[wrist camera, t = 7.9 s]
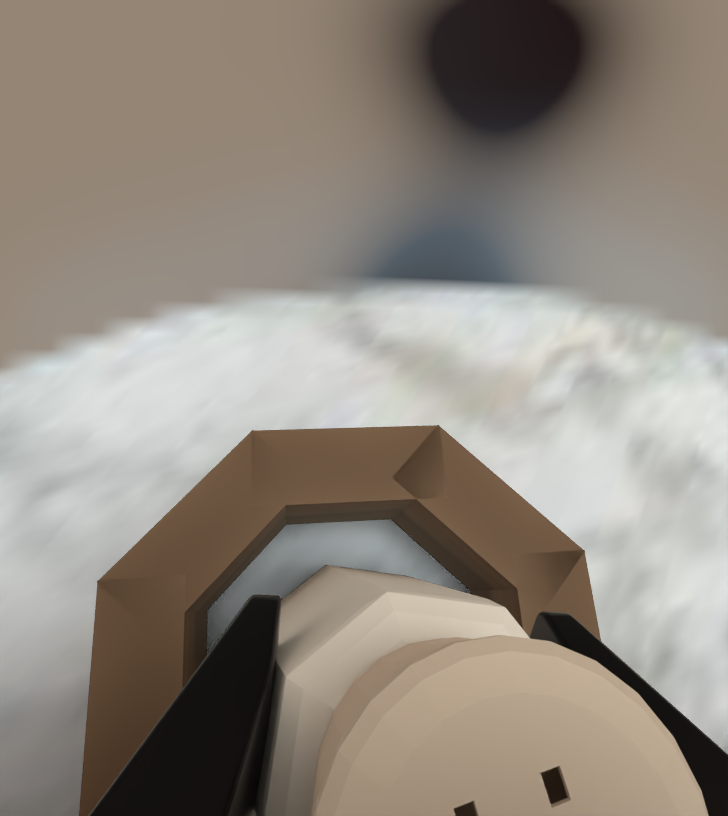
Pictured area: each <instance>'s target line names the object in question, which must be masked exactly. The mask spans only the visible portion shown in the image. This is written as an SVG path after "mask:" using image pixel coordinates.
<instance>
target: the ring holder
mask: <svg viewBox="0 0 728 816" xmlns="http://www.w3.org/2000/svg"><path fill="white" fill-rule="evenodd" d="M382 519H392V520H393V521H394V522H395V523H396V524H397V525H398V526H399V527H400V528H402V529H403V530H404V531H405V532H406V533H407V534H408V535H409V536H410V537H412V538H413V539H414V540H415V541H416V542H417V543H418V544H419V545H420V546H422V547H423V548H424V549H425V550H426V551H427V552H428V553H429V554H431V555H432V556H433V557H434V558H435V559H436V560H437V561H438V562H439V563H441V564H442V565H443V566H444V567H445V568H446V569H447V570H448V571H449V572H451V573H452V574H453V575H454V576H455V577H456V578H457V579H458V580H459V581H461V582H462V583H463V584H464V585H465V586H466V587H467V588H468V589H469V590H471V594H472V595H475V596H479V597H483V598H486V599H489V600H491V601H493V602H495V603H497V604H499V605H501V606H503V607H505V608H506V609H507V610H508V611H509V613H510V614H511V615H512V616H513V617H514V619H515V620H516V621H517V622H518V624H519V625H520V626H521V628H522V629H523V630H524V631H525V633H526V634H527V635H528V636H529V637H530V634H531V631H532V628H533V625H534V622H535V619H536V617H537V615H538V614H539V613H540V612H542V611H553V612H565V613H568V614H570V615H571V616H573V617H574V618H575V619H576V620H577V621H578V622H580V623H581V624H582V625H583V626H584V627H585V628H586V629H587V630H589V631H590V632H591V633H592V634H593V635H594V636H595V637H596V638H598V639H599V640H600V641H601V639H600V633H599V628H598V622H597V617H596V612H595V606H594V601H593V595H592V590H591V585H590V579H589V574H588V568H587V563H586V558H585V551H584V550H583V549H582V548H580V547H579V546H578V545H577V544H576V543H575V542H573V541H572V540H571V539H570V538H569V537H568V536H566V535H565V534H564V533H563V532H562V531H561V530H559V529H558V528H557V527H556V526H555V525H554V524H552V523H551V522H550V521H549V520H548V519H547V518H546V517H544V516H543V515H542V514H541V513H540V512H539V511H537V510H536V509H535V508H534V507H533V506H532V505H530V504H529V503H528V502H527V501H526V500H525V499H523V498H522V497H521V496H520V495H519V494H518V493H516V492H515V491H514V490H513V489H512V488H511V487H509V486H508V485H507V484H506V483H505V482H504V481H502V480H501V479H500V478H499V477H498V476H497V475H496V474H494V473H493V472H492V471H491V470H490V469H489V468H487V467H486V466H485V465H484V464H483V463H482V462H480V461H479V460H478V459H477V458H476V457H475V456H473V455H472V454H471V453H470V452H469V451H468V450H466V449H465V448H464V447H463V446H462V445H461V444H459V443H458V442H457V441H456V440H455V439H454V438H453V437H451V436H450V435H449V434H448V433H447V432H446V431H444V430H443V429H442V428H441V427H440V426H439V425H437V426H402V427H367V428H331V429H296V430H261V431H253V430H252V431H251V432H250V433H249V434H248V435H247V436H246V437H245V438H244V439H243V440H242V441H241V442H240V443H239V444H238V445H237V446H236V447H235V448H234V449H233V450H232V451H231V452H230V453H229V454H228V455H227V456H226V457H225V458H224V459H223V460H222V461H221V462H220V463H219V464H218V465H217V466H216V467H215V468H213V469H212V470H211V471H210V472H209V473H208V474H207V475H206V476H205V477H204V478H203V479H202V480H201V481H200V482H199V483H198V484H197V485H196V486H195V487H194V488H193V489H192V490H191V491H190V492H189V493H188V494H187V495H186V496H185V497H184V498H183V499H182V500H181V501H180V502H179V503H178V504H177V505H176V506H175V507H174V508H172V509H171V510H170V511H169V512H168V513H167V514H166V515H165V516H164V517H163V518H162V519H161V520H160V521H159V522H158V523H157V524H156V525H155V526H154V527H153V528H152V529H151V530H150V531H149V532H148V533H147V534H146V535H145V536H144V537H143V538H142V539H141V540H140V541H139V542H138V543H137V544H136V545H135V546H134V547H132V548H131V549H130V550H129V551H128V552H127V553H126V554H125V555H124V556H123V557H122V558H121V559H120V560H119V561H118V562H117V563H116V564H115V565H114V566H113V567H112V568H111V569H110V570H109V571H108V572H107V573H106V574H105V575H104V576H103V577H102V578H101V579H100V580H98V582H97V583H98V584H97V597H96V609H95V622H94V634H93V647H92V660H91V672H90V685H89V698H88V710H87V723H86V736H85V748H84V761H83V773H82V786H81V799H80V811H79V816H89V814H90V813H91V811H92V810H93V809H94V807H95V806H96V805H97V803H98V802H99V801H100V799H101V798H102V797H103V795H104V794H105V793H106V791H107V790H108V788H109V787H110V786H111V784H112V783H113V782H114V780H115V779H116V778H117V776H118V775H119V774H120V772H121V771H122V770H123V768H124V767H125V765H126V764H127V763H128V761H129V760H130V759H131V757H132V756H133V755H134V753H135V752H136V751H137V749H138V748H139V747H140V745H141V744H142V742H143V741H144V740H145V738H146V737H147V736H148V734H149V733H150V732H151V730H152V729H153V728H154V726H155V725H156V724H157V722H158V721H159V719H160V718H161V717H162V715H163V714H164V713H165V711H166V710H167V709H168V707H169V706H170V705H171V703H172V702H173V701H174V699H175V698H176V696H177V695H178V694H179V692H180V691H181V690H182V688H183V687H184V686H185V684H186V683H187V682H188V680H189V679H190V678H191V676H192V675H193V673H194V672H195V671H196V669H197V668H198V667H199V665H200V664H201V663H202V661H203V660H204V659H205V657H206V648H207V610H208V608H209V607H210V606H211V605H212V604H213V603H214V602H215V601H216V600H217V599H218V598H219V597H220V596H221V594H222V593H223V592H224V591H225V590H226V589H227V588H228V587H229V586H230V585H231V584H232V583H233V581H234V580H235V579H236V578H237V577H238V576H239V575H240V574H241V573H242V572H243V571H244V570H245V569H246V567H247V566H248V565H249V564H250V563H251V562H252V561H253V560H254V559H255V558H256V557H257V556H258V555H259V553H260V552H261V551H262V550H263V549H264V548H265V547H266V546H267V545H268V544H269V543H270V542H271V540H272V539H273V538H274V537H275V536H276V535H277V534H278V533H279V532H280V531H281V530H282V529H283V528H284V526H285V525H286V524H304V523H324V522H343V521H362V520H382Z"/></svg>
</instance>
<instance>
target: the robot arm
mask: <svg viewBox="0 0 728 816" xmlns="http://www.w3.org/2000/svg"><path fill="white" fill-rule="evenodd" d="M280 615H281V598H280V597H279V596H271V595H253V596H251V597H250V598H249V599H248V600H247V602H246V603H245V605H244V606H243V607H242V609H241V610H240V611H239V613H238V614H237V615H236V617H235V618H234V619H233V621H232V622H231V623H230V625H229V626H228V628H227V629H226V630H225V632H224V633H223V634H222V636H221V637H220V638H219V640H218V641H217V642H216V644H215V645H214V646H213V648H212V649H211V650H210V652H209V653H208V655H207V656H206V657H205V659H204V660H203V661H202V663H201V664H200V665H199V667H198V668H197V669H196V671H195V672H194V673H193V675H192V676H191V678H190V679H189V680H188V682H187V683H186V684H185V686H184V687H183V688H182V690H181V691H180V692H179V694H178V695H177V696H176V698H175V699H174V701H173V702H172V703H171V705H170V706H169V707H168V709H167V710H166V711H165V713H164V714H163V715H162V717H161V718H160V719H159V721H158V722H157V724H156V725H155V726H154V728H153V729H152V730H151V732H150V733H149V734H148V736H147V737H146V738H145V740H144V741H143V742H142V744H141V745H140V747H139V748H138V749H137V751H136V752H135V753H134V755H133V756H132V757H131V759H130V760H129V761H128V763H127V764H126V765H125V767H124V768H123V770H122V771H121V772H120V774H119V775H118V776H117V778H116V779H115V780H114V782H113V783H112V784H111V786H110V787H109V788H108V790H107V791H106V793H105V794H104V795H103V797H102V798H101V799H100V801H99V802H98V803H97V805H96V806H95V807H94V809H93V810H92V811H91V813H90V814H89V816H256V813H255V802H256V797H257V791H258V786H259V780H260V774H261V769H262V763H263V757H264V751H265V744H266V738H267V732H268V725H269V717H270V709H271V700H272V691H273V681H274V672H275V662H276V655H277V649H278V640H279V627H280ZM529 638H530V639H537V640H545V641H551V642H553V643H556V644H558V645H560V646H563V647H565V648H567V649H570V650H572V651H574V652H577V653H579V654H581V655H584V656H586V657H588V658H591V659H593V660H595V661H597V662H598V663H600V664H601V665H602V666H603V667H605V668H606V669H607V670H609V671H610V672H611V673H613V674H614V675H615V676H616V677H618V678H619V679H620V680H622V681H623V682H624V683H625V684H627V685H628V686H629V687H631V688H632V689H633V690H635V691H636V692H637V693H638V694H639V695H640V696H641V697H642V699H643V700H644V701H645V702H646V704H647V705H648V706H649V707H650V709H651V710H652V711H653V712H654V713H655V715H656V716H657V717H658V718H659V720H660V721H661V722H662V723H663V724H664V726H665V727H666V728H667V729H668V731H669V732H670V733H671V734H672V735H673V737H674V738H675V740H676V742H677V744H678V746H679V748H680V750H681V752H682V754H683V756H684V758H685V760H686V762H687V764H688V766H689V768H690V770H691V771H692V773H693V775H694V777H695V779H696V781H697V783H698V785H699V787H700V789H701V791H702V794H703V798H704V801H705V805H706V808H707V812H708V815H709V816H728V754H727V753H726V752H724V751H723V750H722V749H721V748H720V747H719V746H718V745H717V744H716V743H714V742H713V741H712V740H711V739H710V738H709V737H708V736H707V735H705V734H704V733H703V732H702V731H701V730H700V729H699V728H698V727H696V726H695V725H694V724H693V723H692V722H691V721H690V720H689V719H687V718H686V717H685V716H684V715H683V714H682V713H681V712H680V711H678V710H677V709H676V708H675V707H674V706H673V705H672V704H671V703H669V702H668V701H667V700H666V699H665V698H664V697H663V696H662V695H660V694H659V693H658V692H657V691H656V690H655V689H654V688H653V687H651V686H650V685H649V684H648V683H647V682H646V681H645V680H644V679H643V678H641V677H640V676H639V675H638V674H637V673H636V672H635V671H634V670H632V669H631V668H630V667H629V666H628V665H627V664H626V663H625V662H623V661H622V660H621V659H620V658H619V657H618V656H617V655H616V654H614V653H613V652H612V651H611V650H610V649H609V648H608V647H607V646H605V645H604V644H603V643H602V642H601V641H600V640H599V639H598V638H596V637H595V636H594V635H593V634H592V633H591V632H590V631H589V630H587V629H586V628H585V627H584V626H583V625H582V624H581V623H580V622H578V621H577V620H576V619H575V618H574V617H573V616H571V615H570V614H568V613H565V612H553V611H542V612H540V613H539V614H538V615H537V617H536V619H535V622H534V625H533V628H532V631H531V634H530V637H529Z"/></svg>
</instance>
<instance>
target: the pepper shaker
mask: <svg viewBox="0 0 728 816" xmlns="http://www.w3.org/2000/svg"><path fill="white" fill-rule="evenodd" d="M255 813H256V816H709V815H708V812H707V808H706V805H705V801H704V798H703V794H702V791H701V789H700V787H699V785H698V783H697V781H696V779H695V777H694V775H693V773H692V771H691V770H690V768H689V766H688V764H687V762H686V760H685V758H684V756H683V754H682V752H681V750H680V748H679V746H678V744H677V742H676V740H675V738H674V737H673V735H672V734H671V733H670V732H669V731H668V729H667V728H666V727H665V726H664V724H663V723H662V722H661V721H660V720H659V718H658V717H657V716H656V715H655V713H654V712H653V711H652V710H651V709H650V707H649V706H648V705H647V704H646V702H645V701H644V700H643V699H642V697H641V696H640V695H639V694H638V693H637V692H636V691H635V690H633V689H632V688H631V687H629V686H628V685H627V684H625V683H624V682H623V681H622V680H620V679H619V678H618V677H616V676H615V675H614V674H613V673H611V672H610V671H609V670H607V669H606V668H605V667H603V666H602V665H601V664H600V663H598V662H597V661H595V660H593V659H591V658H588V657H586V656H584V655H581V654H579V653H577V652H574V651H572V650H570V649H567V648H565V647H563V646H560V645H558V644H556V643H553V642H551V641H545V640H537V639H530V638H529V636H528V635H527V634H526V633H525V631H524V630H523V629H522V628H521V626H520V625H519V624H518V622H517V621H516V620H515V619H514V617H513V616H512V615H511V614H510V613H509V611H508V610H507V609H506V608H505V607H503V606H501V605H499V604H497V603H495V602H493V601H491V600H489V599H486V598H483V597H479V596H475V595H472V594H468V593H465V592H461V591H458V590H454V589H451V588H447V587H443V586H440V585H436V584H433V583H429V582H426V581H422V580H419V579H415V578H412V577H408V576H403V575H396V574H388V573H381V572H374V571H366V570H359V569H351V568H344V567H336V566H329V565H325V566H324V567H323V568H321V569H320V570H319V571H318V572H316V573H315V574H314V575H313V576H311V577H310V578H309V579H307V580H306V581H305V582H304V583H302V584H301V585H300V586H299V587H297V588H296V589H295V590H294V591H292V592H291V593H290V594H289V595H287V596H286V597H285V598H283V599H282V600H281V615H280V627H279V640H278V649H277V655H276V662H275V672H274V681H273V691H272V700H271V709H270V717H269V725H268V732H267V738H266V744H265V751H264V757H263V763H262V769H261V774H260V780H259V786H258V791H257V797H256V802H255Z"/></svg>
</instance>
